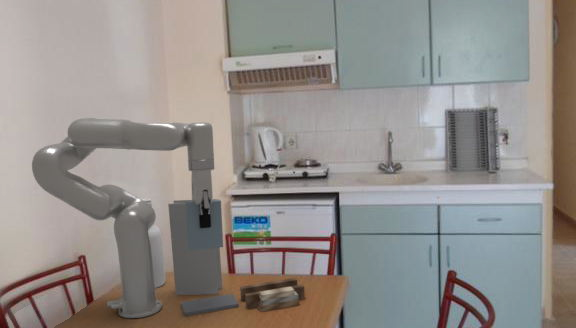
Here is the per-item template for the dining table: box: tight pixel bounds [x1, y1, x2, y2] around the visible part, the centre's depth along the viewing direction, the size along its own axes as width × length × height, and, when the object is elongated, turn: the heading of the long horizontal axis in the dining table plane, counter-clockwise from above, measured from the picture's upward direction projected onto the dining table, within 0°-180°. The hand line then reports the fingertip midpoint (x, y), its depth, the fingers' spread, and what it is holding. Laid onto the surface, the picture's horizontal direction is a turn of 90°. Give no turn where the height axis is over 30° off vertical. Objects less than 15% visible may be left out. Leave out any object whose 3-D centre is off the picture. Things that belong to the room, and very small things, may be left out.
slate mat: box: [180, 293, 240, 317], centre depth 157 cm, size 16×9×1 cm, turn 108°
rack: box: [239, 277, 306, 310], centre depth 160 cm, size 18×8×4 cm, turn 108°
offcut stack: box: [257, 287, 301, 313], centre depth 154 cm, size 12×4×5 cm, turn 108°
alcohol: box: [141, 197, 166, 289], centre depth 177 cm, size 9×9×30 cm
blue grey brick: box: [186, 198, 224, 251], centre depth 154 cm, size 10×3×14 cm, turn 108°
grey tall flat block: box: [168, 198, 223, 296], centre depth 168 cm, size 14×6×30 cm, turn 84°
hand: (204, 225), depth 154 cm, fingers closed on blue grey brick, 3 cm apart
